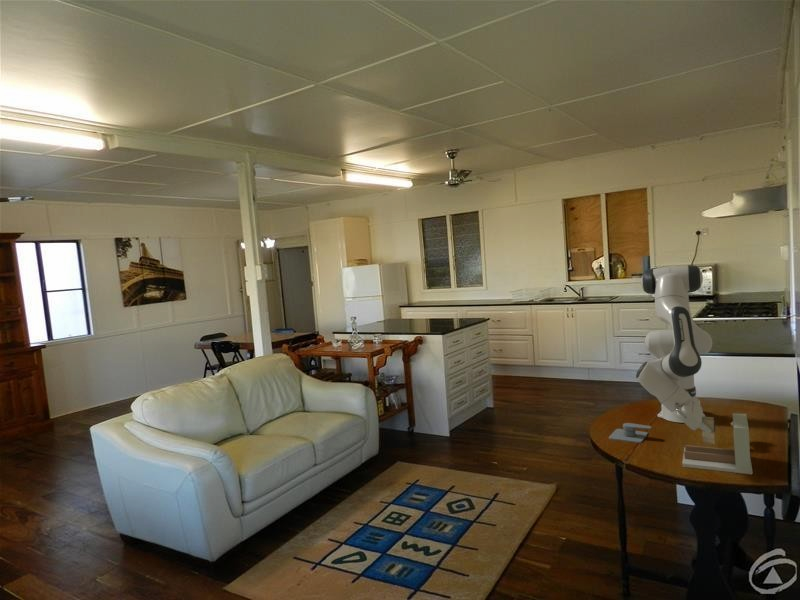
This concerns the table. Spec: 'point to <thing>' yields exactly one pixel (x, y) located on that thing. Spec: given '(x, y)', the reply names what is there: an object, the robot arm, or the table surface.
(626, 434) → the shower valve
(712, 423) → the beige wooden block
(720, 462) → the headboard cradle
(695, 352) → the robot arm
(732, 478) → the table surface
